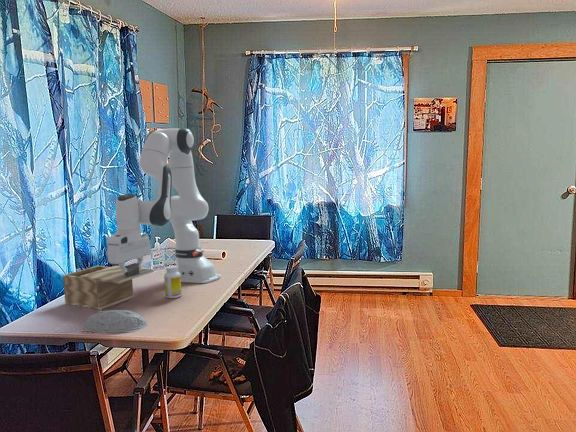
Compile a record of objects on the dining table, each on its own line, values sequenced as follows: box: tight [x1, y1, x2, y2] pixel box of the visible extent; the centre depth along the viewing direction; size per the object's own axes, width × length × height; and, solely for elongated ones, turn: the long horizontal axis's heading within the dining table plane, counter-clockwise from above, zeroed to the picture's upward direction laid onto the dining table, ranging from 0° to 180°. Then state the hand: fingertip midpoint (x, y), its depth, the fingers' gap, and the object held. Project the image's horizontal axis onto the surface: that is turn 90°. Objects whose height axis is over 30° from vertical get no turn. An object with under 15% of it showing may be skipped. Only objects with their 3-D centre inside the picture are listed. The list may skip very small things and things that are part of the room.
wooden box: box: [62, 265, 134, 311], centre depth 221 cm, size 20×18×12 cm
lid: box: [80, 262, 154, 283], centre depth 215 cm, size 21×19×5 cm
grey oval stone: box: [82, 309, 148, 334], centre depth 192 cm, size 16×25×7 cm, turn 81°
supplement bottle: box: [163, 265, 183, 299], centre depth 224 cm, size 7×7×13 cm
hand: (131, 270), depth 211 cm, fingers closed on lid, 6 cm apart
